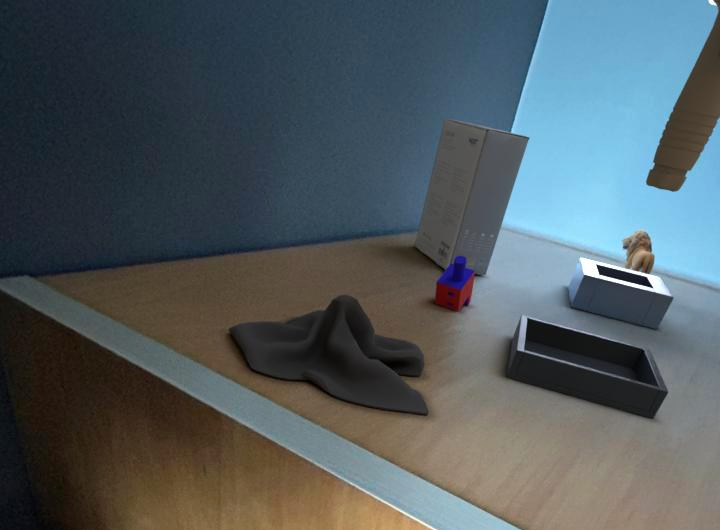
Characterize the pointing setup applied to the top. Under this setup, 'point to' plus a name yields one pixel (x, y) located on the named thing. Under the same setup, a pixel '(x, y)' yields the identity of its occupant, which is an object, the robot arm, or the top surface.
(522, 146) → the hard drive box
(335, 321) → the cloth
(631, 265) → the lion figurine
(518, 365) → the basin
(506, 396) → the top surface
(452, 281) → the toy building block
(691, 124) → the handle
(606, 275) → the block
